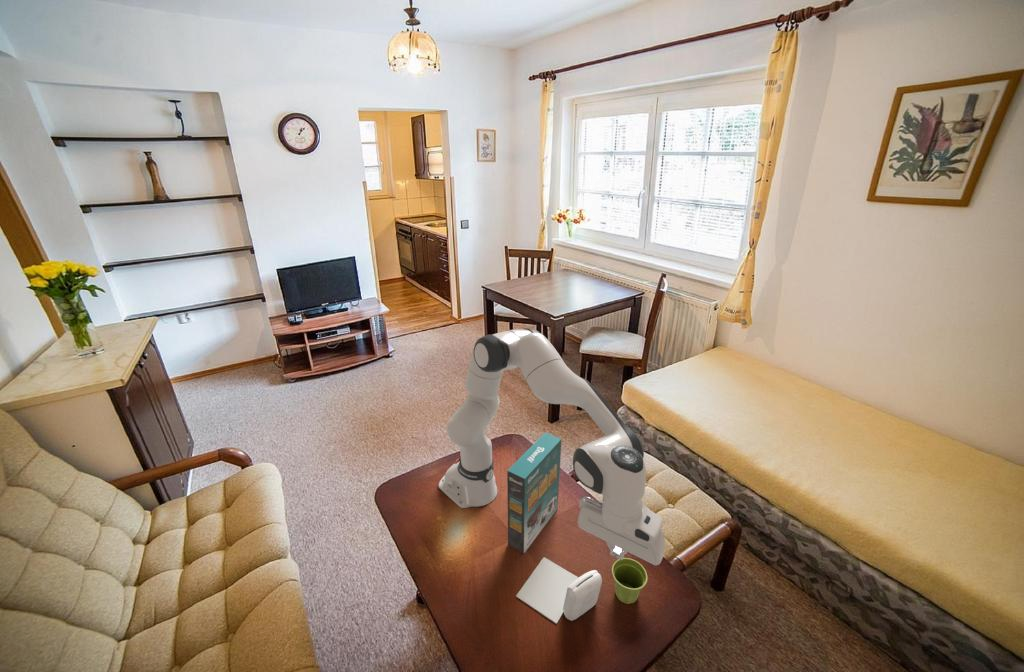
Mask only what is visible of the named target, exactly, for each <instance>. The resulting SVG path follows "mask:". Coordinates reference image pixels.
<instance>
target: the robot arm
mask: <svg viewBox="0 0 1024 672" xmlns="http://www.w3.org/2000/svg"><path fill="white" fill-rule="evenodd" d="M517 368H519V369H520V372H521V373H522V375H523V377H524V380H525V381H526V382H527V385H528V387H529V389H530V391H532V393H533V394H534V396H535V397H536V398H537V399H538V400H540V401H542V402H544V403H546V404H547V403H548V404H551V405H552V404H553V405H570V406H576V407H579V408H581V409H583V410H584V411H585V412H586V413H587V414H588V415H589V417H590V418H591V419H592V421H594V423H595V424H596V425H597V427H598V428H599V429H600V430H601V432H602V433H603V434H604V436H602V437H599V438H597V439H595V440H593V441H590V442H588V443H586V444H584V445H581V446H580V447H578V448H576V449H575V451H574V453H573V457H572V467H573V472H574V476H575V477H576V479H577V480H578V481H579V482H580V484H582V485H583V486H584V487H586V488H588V489H589V490H591V491H593V492H594V493H597V494H599V495H602V501H598V500H596V499H593V498H591V497H590V496H582V497H580V498H579V504H578V506H579V508H580V510H579V514H578V518H577V525H578V527H579V529H580V530H583V532H584V531H585V532H586V533H588V534H591V535H593V536H595V537H596V538H599V539H601V540H603V541H605V543H606V545H607V547H608V548H609V551H610V552H609V555H610V556H612V557H614V558H616V559H617V560H619V559H620V560H622V559H623V558H625V557H624V556H625V555H627V553H630V554H631V555H633V556H635V557H637V558H639V559H642V560H644V561H645V562H647V563H650V564H652V565H653V566H658V565H660V564H661V562H662V561H663V558H664V554H665V547H666V546H665V545H666V544H665V542H666V540H665V539H666V538H665V534H664V532H663V530H662V527H663V523H664V520H663V518H662V517H661V516H660V515H658V514H657V513H656V512H654V511H652V510H651V509H650V508H649V507H647V506H646V505H645V504H644V502H643V499H644V495H645V493H646V492H645V491H646V484H647V469H646V468H647V467H646V464H645V460H644V457H645V449H644V444H643V441H642V440H641V439H640V437H639V436H638V435H637V434H636V433H635V432H634V431H633V430H632V429H631V428H629V426H627V424H626V423H625V422H624V421H623V420H622V419H621V418H620V417H619V416H618V414H617V413H616V412H615V411H614V409H613V408H612V406H610V404H609V403H608V402H607V401H606V399H605V398H604V397H603V396H602V395H601V394H600V392H599V391H598V390H597V389H596V387H594V386H593V384H591V382H590V381H589V380H587V379H585V378H584V377H580V376H579V375H578V374H576V373H574V372H573V371H572V370H571V369H570V367H568V366H567V364H566V363H565V361H564V359H563V358H562V357H561V355H560V353H559V352H558V351H557V350H556V348H555V346H554V345H553V344H552V343H551V342H550V340H549V339H548V338H547V337H546V336H545V335H544V334H543V333H541V332H540V331H538V330H537V329H533V328H528V327H527V328H526V327H525V328H523V329H520V328H519V329H509V330H505V331H499V332H497V333H493V334H487V335H484V336H482V337H479V338H478V339H477V340H476V341H475V344H474V347H473V351H472V353H471V357H470V360H469V364H468V369H467V372H466V378H465V381H464V387H465V390H466V392H467V396H466V398H465V400H464V402H463V403H462V405H461V406H459V408H458V409H457V410H456V411H455V412H454V413H453V415H452V416H451V418H450V419H449V421H448V424H446V425H447V426H446V429H445V430H446V433H447V437H448V438H449V440H450V441H451V442H452V443H453V444H454V445H457V446H458V447H459V450H460V452H459V453H460V456H459V458H457V459H456V460H455V463H453V464H452V465H451V466H449V468H448V469H447V470H446V471H445V474H444V475H443V476H442V478H441V479H440V480H439V482H438V488H439V489H440V490H441V492H443V493H444V495H446V496H448V498H449V499H450V500H452V502H454V503H455V504H456V505H457V506H458V507H459V508H460V509H467V508H470V507H475V508H477V507H483V506H485V505H488V504H490V503H491V502H493V501H494V500H495V498H497V494H498V487H497V484H496V477H495V473H494V467H495V466H494V458H493V445H492V441H491V439H490V438H489V437H488V436H487V435H486V430H487V428H488V426H489V425H490V423H491V422H492V421H493V420H494V418H495V416H496V415H497V413H498V410H499V407H500V404H501V400H500V396H499V390H500V386H501V383H502V380H503V379H502V378H503V373H504V371H508V370H515V369H517Z"/></svg>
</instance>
